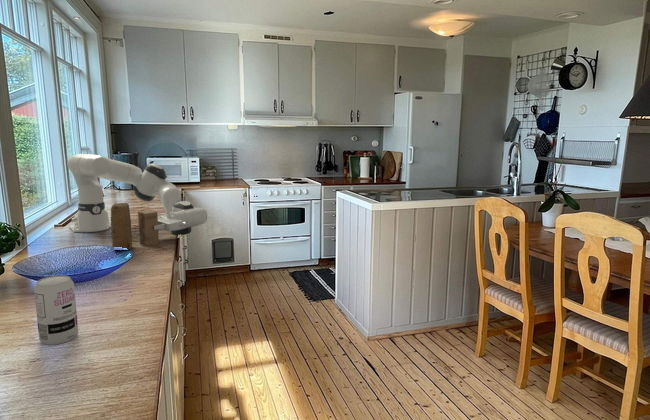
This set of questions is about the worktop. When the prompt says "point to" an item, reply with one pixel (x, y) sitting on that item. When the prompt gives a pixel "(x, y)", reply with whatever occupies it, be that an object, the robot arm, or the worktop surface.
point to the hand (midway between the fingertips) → (149, 226)
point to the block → (121, 226)
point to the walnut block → (148, 228)
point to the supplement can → (56, 310)
